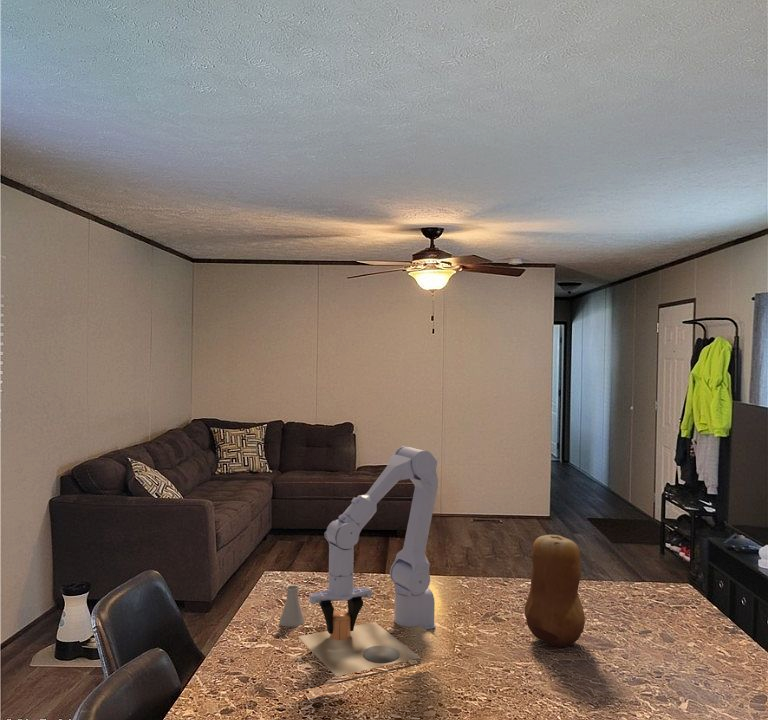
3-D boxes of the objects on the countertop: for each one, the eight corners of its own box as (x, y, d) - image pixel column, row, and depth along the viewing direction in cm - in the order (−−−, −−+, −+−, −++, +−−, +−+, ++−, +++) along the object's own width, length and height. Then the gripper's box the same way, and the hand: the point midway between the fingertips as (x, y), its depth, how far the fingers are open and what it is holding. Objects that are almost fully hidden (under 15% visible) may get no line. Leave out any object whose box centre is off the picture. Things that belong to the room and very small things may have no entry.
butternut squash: (588, 637, 171) (590, 533, 170) (579, 660, 158) (581, 548, 158) (531, 627, 176) (533, 526, 176) (517, 648, 164) (519, 540, 164)
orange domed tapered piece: (346, 631, 169) (346, 610, 169) (352, 638, 165) (352, 616, 165) (328, 633, 167) (328, 612, 167) (334, 640, 163) (334, 619, 163)
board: (374, 627, 175) (374, 605, 175) (420, 664, 155) (420, 639, 155) (297, 642, 165) (297, 619, 165) (336, 683, 146) (336, 657, 146)
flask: (301, 635, 170) (302, 593, 170) (272, 632, 171) (273, 590, 171) (310, 623, 177) (311, 583, 177) (283, 620, 178) (283, 581, 178)
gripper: (315, 581, 159) (314, 641, 160) (376, 575, 164) (375, 633, 165) (307, 571, 166) (306, 629, 166) (366, 565, 171) (365, 622, 171)
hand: (340, 630), depth 166 cm, fingers closed on orange domed tapered piece, 4 cm apart
